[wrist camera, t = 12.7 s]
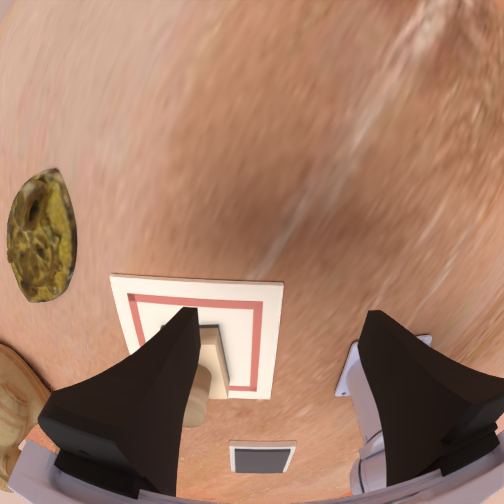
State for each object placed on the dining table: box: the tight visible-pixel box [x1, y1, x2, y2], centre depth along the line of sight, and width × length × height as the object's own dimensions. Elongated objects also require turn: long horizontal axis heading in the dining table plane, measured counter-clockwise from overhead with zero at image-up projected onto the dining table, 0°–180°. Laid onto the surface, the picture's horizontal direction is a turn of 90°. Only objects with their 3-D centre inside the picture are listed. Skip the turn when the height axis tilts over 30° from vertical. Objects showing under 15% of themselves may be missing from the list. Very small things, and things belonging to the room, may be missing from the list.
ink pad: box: [229, 440, 296, 473], centre depth 32 cm, size 9×11×2 cm
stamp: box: [160, 324, 230, 428], centre depth 20 cm, size 5×7×7 cm
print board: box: [109, 274, 284, 399], centre depth 23 cm, size 14×14×1 cm
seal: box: [7, 169, 77, 303], centre depth 18 cm, size 9×5×15 cm
